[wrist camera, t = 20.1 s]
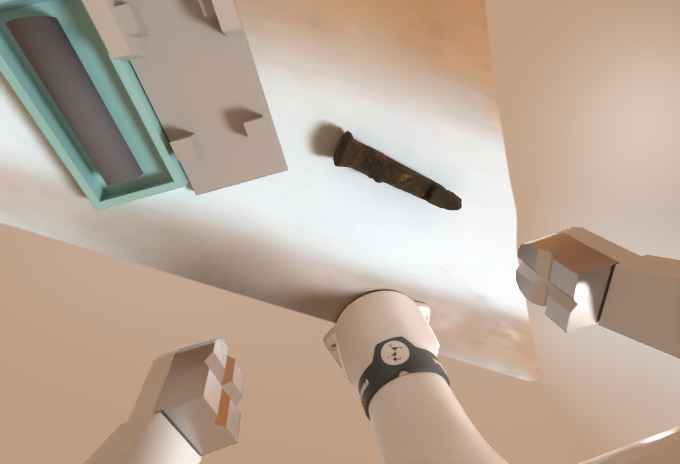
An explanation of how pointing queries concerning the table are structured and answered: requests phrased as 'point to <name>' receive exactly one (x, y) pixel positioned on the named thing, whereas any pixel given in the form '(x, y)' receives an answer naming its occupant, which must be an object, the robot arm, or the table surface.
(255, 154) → the cradle
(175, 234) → the table surface
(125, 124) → the tray
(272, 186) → the table surface
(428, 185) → the hand tool
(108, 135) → the dark grey cylinder
